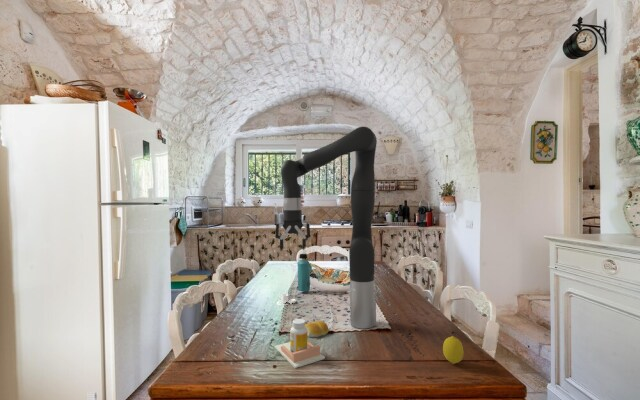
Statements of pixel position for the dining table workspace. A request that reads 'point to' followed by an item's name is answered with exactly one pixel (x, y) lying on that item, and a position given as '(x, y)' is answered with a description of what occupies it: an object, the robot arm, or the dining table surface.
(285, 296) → the teacup and saucer
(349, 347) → the dining table surface
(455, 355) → the lemon
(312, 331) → the bread roll
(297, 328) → the supplement bottle
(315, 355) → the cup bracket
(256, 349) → the dining table surface
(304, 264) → the beverage bottle
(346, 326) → the dining table surface
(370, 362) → the dining table surface
